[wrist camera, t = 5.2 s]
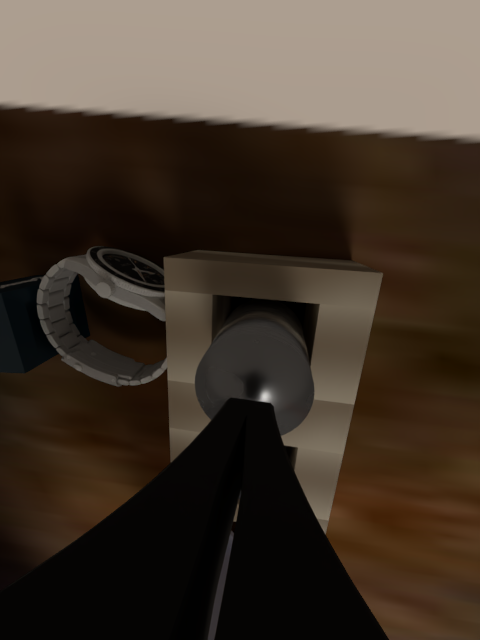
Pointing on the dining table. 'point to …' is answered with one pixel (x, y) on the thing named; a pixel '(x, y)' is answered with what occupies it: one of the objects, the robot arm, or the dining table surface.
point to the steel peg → (258, 363)
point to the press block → (320, 337)
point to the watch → (78, 315)
